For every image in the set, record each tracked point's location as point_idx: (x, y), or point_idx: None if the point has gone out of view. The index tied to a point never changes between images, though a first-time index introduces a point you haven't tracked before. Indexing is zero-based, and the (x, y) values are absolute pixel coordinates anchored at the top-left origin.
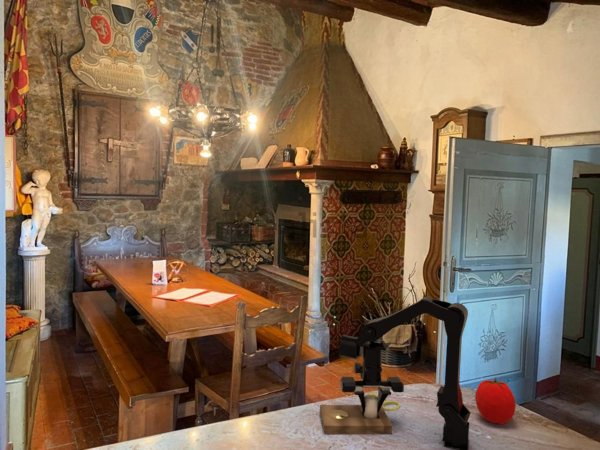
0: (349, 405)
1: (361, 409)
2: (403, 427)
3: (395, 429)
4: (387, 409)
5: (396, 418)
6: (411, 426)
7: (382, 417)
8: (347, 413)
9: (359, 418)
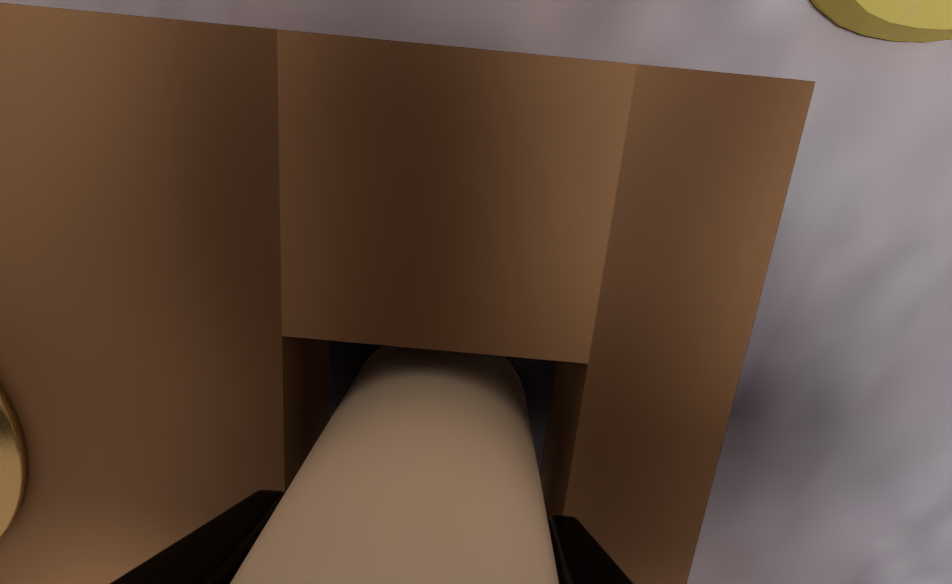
0: (57, 41)
1: (301, 265)
2: (817, 548)
3: (695, 579)
4: (884, 27)
5: (862, 321)
6: (931, 536)
7: None
8: (6, 424)
9: None
